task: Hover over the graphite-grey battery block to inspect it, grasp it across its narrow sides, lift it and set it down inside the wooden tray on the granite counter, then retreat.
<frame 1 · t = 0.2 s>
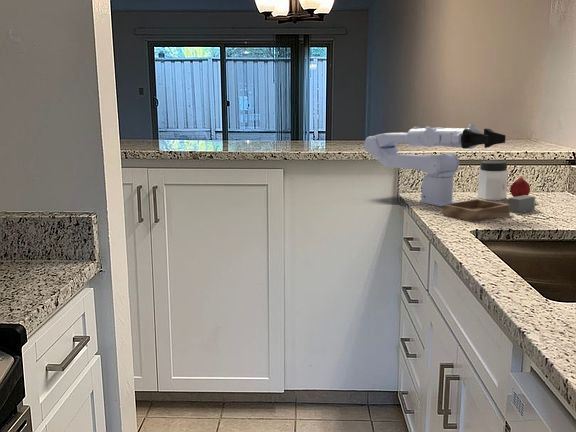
hand: (496, 139, 164), 21 cm above the worktop, tool horizontal, fingers open, 7 cm apart
onion: (519, 201, 186), on the worktop
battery: (520, 210, 172), on the worktop
wooden tray: (476, 215, 167), on the worktop
jar: (491, 198, 192), on the worktop
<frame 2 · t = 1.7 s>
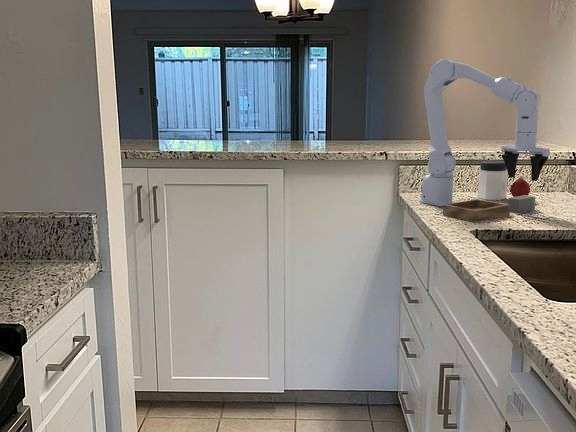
hand: (522, 179, 170), 9 cm above the worktop, tool pointing down, fingers open, 7 cm apart
nothing on the worktop moved.
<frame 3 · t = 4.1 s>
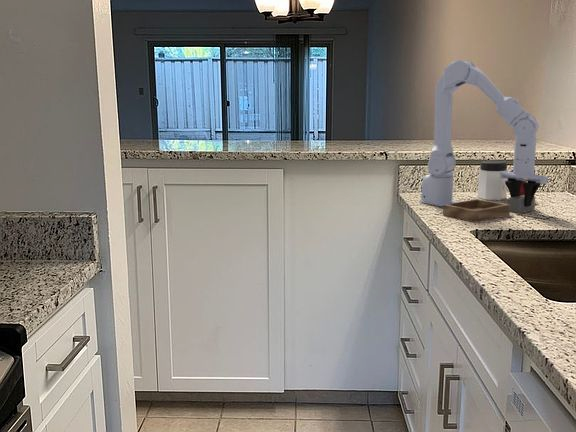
hand: (521, 205, 171), 2 cm above the worktop, tool pointing down, fingers closed on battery, 4 cm apart
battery: (520, 210, 172), on the worktop, touching gripper
everything else where it was.
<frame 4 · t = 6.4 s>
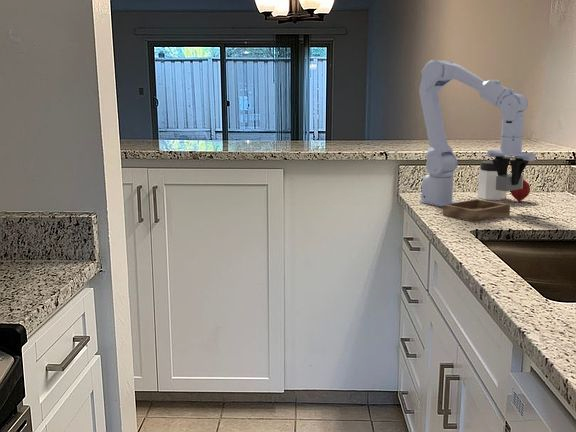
hand: (508, 183, 169), 8 cm above the worktop, tool pointing down, fingers closed on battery, 4 cm apart
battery: (508, 189, 169), point 7 cm above the worktop, touching gripper
everything else where it was.
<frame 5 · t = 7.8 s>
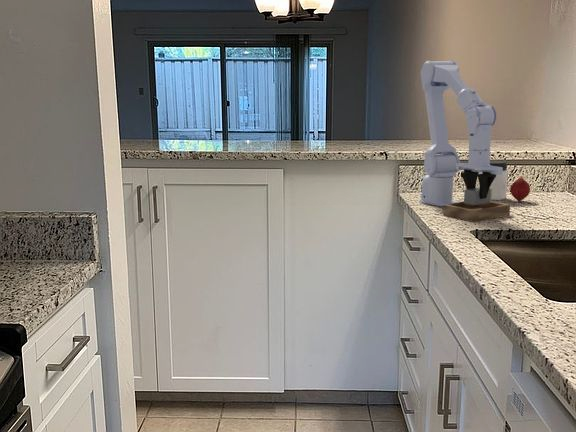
hand: (477, 197, 166), 5 cm above the worktop, tool pointing down, fingers closed on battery, 4 cm apart
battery: (477, 203, 166), point 4 cm above the worktop, touching gripper
everything else where it was.
when the fingers open (4 cm above the worktop, at t = 8.8 s): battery drops 1 cm, resting on wooden tray.
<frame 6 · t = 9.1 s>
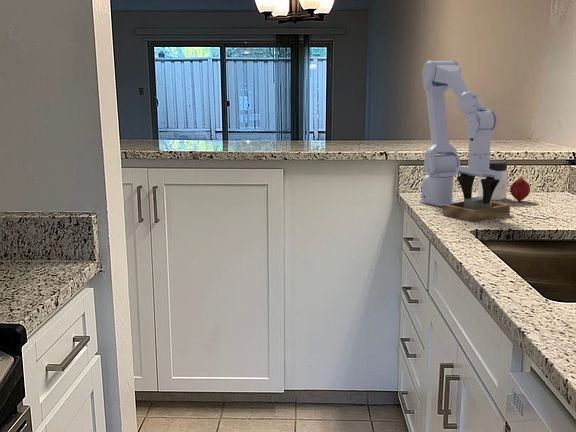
hand: (476, 201, 166), 4 cm above the worktop, tool pointing down, fingers open, 6 cm apart
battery: (476, 212, 167), point 1 cm above the worktop, touching wooden tray
everything else where it was.
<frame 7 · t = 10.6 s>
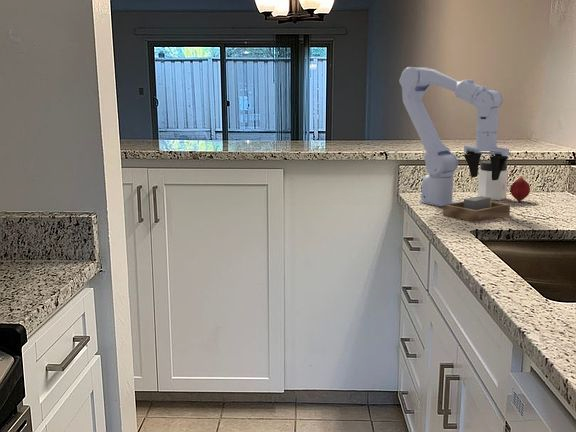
hand: (484, 178, 173), 9 cm above the worktop, tool pointing down, fingers open, 7 cm apart
nothing on the worktop moved.
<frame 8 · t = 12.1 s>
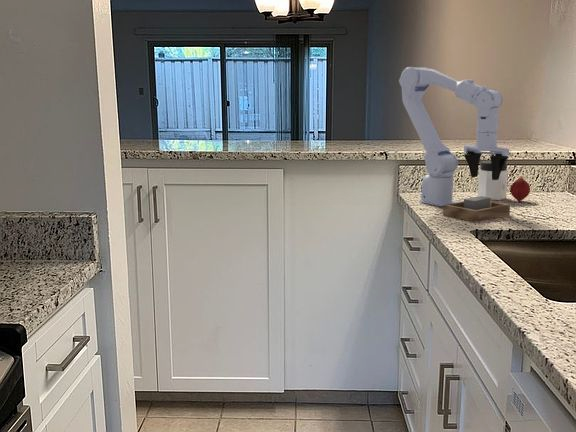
hand: (484, 178, 173), 9 cm above the worktop, tool pointing down, fingers open, 7 cm apart
nothing on the worktop moved.
at the end: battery inside the target area on the wooden tray (0.1 cm from its centre), point 0.8 cm above the wooden tray's base; the gripper is holding nothing; onion moved 0.2 cm from its start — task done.
